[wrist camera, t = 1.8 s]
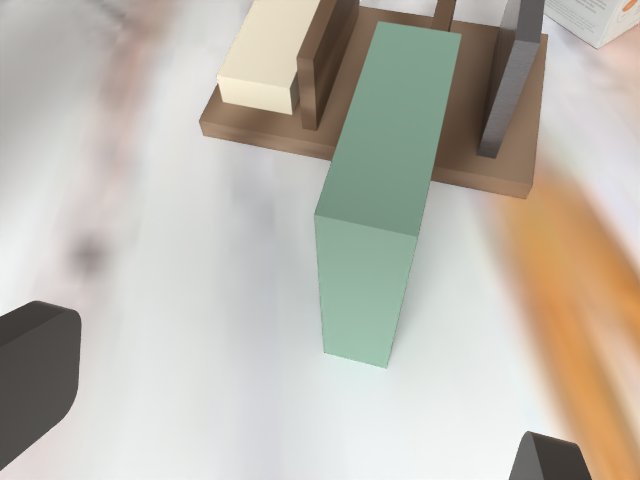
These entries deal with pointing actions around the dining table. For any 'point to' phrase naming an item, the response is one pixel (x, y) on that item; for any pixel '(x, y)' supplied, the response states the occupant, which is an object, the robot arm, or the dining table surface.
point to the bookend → (509, 70)
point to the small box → (594, 18)
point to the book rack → (341, 81)
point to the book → (380, 188)
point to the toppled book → (267, 56)
